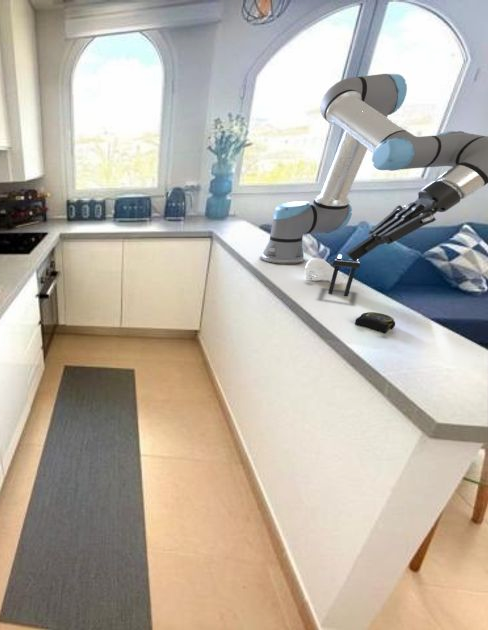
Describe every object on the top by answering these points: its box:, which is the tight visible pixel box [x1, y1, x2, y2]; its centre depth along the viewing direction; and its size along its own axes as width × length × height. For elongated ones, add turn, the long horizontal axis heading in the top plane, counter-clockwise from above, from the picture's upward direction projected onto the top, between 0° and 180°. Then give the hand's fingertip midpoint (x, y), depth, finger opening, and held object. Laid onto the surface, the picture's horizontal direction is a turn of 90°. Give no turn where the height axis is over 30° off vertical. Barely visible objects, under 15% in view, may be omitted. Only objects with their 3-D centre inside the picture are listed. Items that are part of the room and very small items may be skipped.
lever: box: [332, 258, 361, 269], centre depth 101 cm, size 13×6×2 cm, turn 141°
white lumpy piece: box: [304, 257, 346, 285], centre depth 118 cm, size 6×8×12 cm
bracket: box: [327, 254, 359, 297], centre depth 107 cm, size 11×8×13 cm
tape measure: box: [354, 311, 396, 334], centre depth 88 cm, size 7×7×4 cm
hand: (350, 257), depth 95 cm, fingers closed
